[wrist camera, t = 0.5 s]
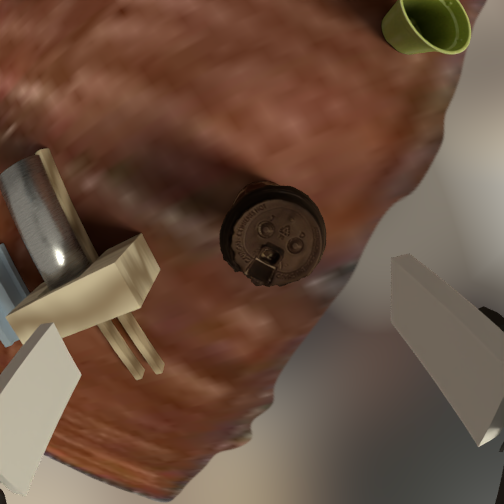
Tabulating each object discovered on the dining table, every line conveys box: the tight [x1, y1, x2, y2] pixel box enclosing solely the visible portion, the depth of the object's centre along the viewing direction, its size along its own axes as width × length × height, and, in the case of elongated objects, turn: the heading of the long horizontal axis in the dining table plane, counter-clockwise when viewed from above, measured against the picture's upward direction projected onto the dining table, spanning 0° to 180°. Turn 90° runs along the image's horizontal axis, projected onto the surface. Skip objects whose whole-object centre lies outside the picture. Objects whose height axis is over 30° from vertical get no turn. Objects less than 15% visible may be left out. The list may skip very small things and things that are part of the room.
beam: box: [5, 148, 164, 380], centre depth 33 cm, size 33×18×10 cm, turn 22°
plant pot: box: [381, 0, 471, 54], centre depth 25 cm, size 9×9×9 cm
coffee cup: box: [220, 181, 326, 287], centre depth 30 cm, size 9×8×13 cm
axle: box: [0, 155, 91, 291], centre depth 31 cm, size 19×6×6 cm, turn 22°
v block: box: [0, 243, 30, 347], centre depth 37 cm, size 14×10×4 cm
